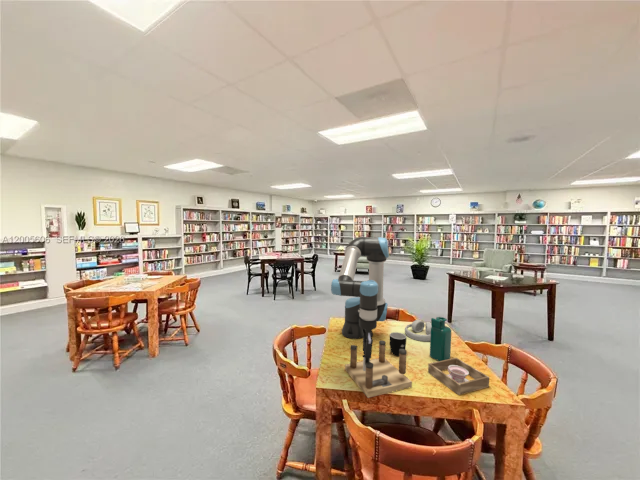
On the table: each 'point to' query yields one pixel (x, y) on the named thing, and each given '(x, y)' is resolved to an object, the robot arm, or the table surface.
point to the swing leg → (369, 377)
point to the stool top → (376, 373)
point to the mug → (397, 342)
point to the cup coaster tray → (458, 388)
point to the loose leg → (402, 361)
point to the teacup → (457, 373)
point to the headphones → (419, 330)
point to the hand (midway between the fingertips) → (366, 370)
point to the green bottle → (440, 339)
